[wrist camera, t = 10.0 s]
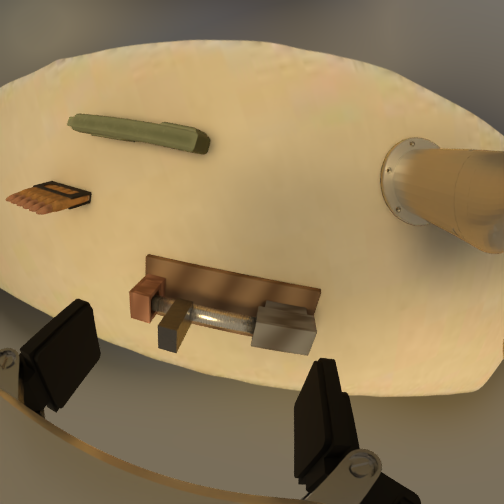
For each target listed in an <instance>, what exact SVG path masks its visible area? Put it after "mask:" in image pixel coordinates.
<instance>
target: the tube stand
mask: <svg viewBox="0 0 504 504" xmlns="http://www.w3.org/2000/svg"><path fill="white" fill-rule="evenodd" d="M155 294H156V295H160V296H163V297H167V298H171V299H175V300H176V298H181V299H185V300H189V301H193V304H196V305H200V306H205V307H209V308H214V309H218V310H223V311H228V312H232V313H237V314H242V315H247V316H252V317H257V320H256V325H255V330H254V334H249V333H244V332H239V331H234V330H229V329H225V328H220V327H216V326H211V325H207V324H203V323H198V322H194V321H192V324H196V325H200V326H205V327H209V328H213V329H218V330H222V331H227V332H232V333H237V334H241V335H246V336H252V342H251V346H253V347H258V348H263V349H269V350H275V351H281V352H287V353H294V354H301V355H309V352H310V349H311V347H312V344H313V342H314V339H315V336H316V334H317V330H316V325H315V319H314V313H315V310H316V307H317V304H318V301H319V297H320V294H321V290H320V289H317V288H312V287H306V286H301V285H295V284H290V283H285V282H280V281H274V280H269V279H264V278H259V277H254V276H249V275H244V274H239V273H234V272H229V271H224V270H219V269H215V268H210V267H205V266H200V265H196V264H191V263H186V262H182V261H177V260H172V259H168V258H163V257H159V256H154V255H150V254H148V255H147V256H146V276H145V277H144V278H143V279H142V280H141V281H140V282H139V283H138V284H137V285H135V286H134V287H133V288H132V289H131V290H130V291H129V295H130V313H131V318H134V319H137V320H140V321H144V322H147V323H150V322H151V321H152V319H153V318H154V317H155V315H156V314H158V315H161V316H165V314H163V313H159V312H156V311H152V310H151V298H152V297H153V296H154V295H155Z"/></svg>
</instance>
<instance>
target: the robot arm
mask: <svg viewBox="0 0 504 504" xmlns="http://www.w3.org/2000/svg"><path fill="white" fill-rule="evenodd" d="M410 143H411V145H410ZM387 169H388V172H387V171H386V170H387ZM381 188H382V192H383V197H384V199H385V201H386V204H387V205H388V207H389V208H390V210H391V211H392V212H393V213H394V214H395V215H396V216H397V217H398V218H399V219H401V220H402V221H404V222H406V223H408V224H411V225H417V226H422V225H428V224H430V223H432V224H434V225H436V226H438V227H440V228H442V229H444V230H446V231H447V232H449V233H451V234H453V235H455V236H456V237H458V238H460V239H462V240H464V241H465V242H467V243H469V244H471V245H472V246H474V247H476V248H477V249H479V250H481V251H483V252H486V253H491V254H499V253H503V252H504V151H489V150H472V149H441V148H439V147H438V146H437V145H436V144H435V143H433V142H431V141H430V140H427V139H424V138H408V139H405V140H402V141H401V142H399V143H397V144H396V145H395V146H394V147H393V148H392V149H391V150H390V151H389V153H388V154H387V156H386V158H385V160H384V162H383V166H382V170H381ZM396 207H397V210H396ZM20 351H21V353H20V354H18V352H17V351H16V350H14V349H12V348H4V349H1V350H0V504H421V501H420V498H419V497H418V495H417V494H415V493H414V492H413V491H411V490H409V489H407V488H406V487H404V486H403V485H401V484H399V483H398V482H396V481H395V480H393V479H391V478H390V477H388V476H386V475H385V474H384V473H382V472H381V470H382V463H381V460H380V458H379V457H378V456H377V455H376V454H375V453H374V452H372V451H370V450H367V449H360V448H359V443H358V438H357V433H356V428H355V422H354V417H353V413H352V408H351V403H350V398H349V395H348V394H347V392H342V390H341V385H340V381H339V376H338V371H337V367H336V362H335V360H334V359H326V358H320V359H319V360H318V361H314V362H313V365H312V367H311V369H310V372H309V374H308V376H307V378H306V381H305V383H304V385H303V387H302V389H301V392H300V394H299V396H298V398H297V400H296V402H295V406H294V476H295V478H299V484H306V490H307V491H308V493H307V494H306V495H305V496H304V497H302V498H301V499H300V500H299V499H287V498H278V497H267V496H258V495H250V494H243V493H237V492H231V491H225V490H219V489H214V488H210V487H205V486H201V485H196V484H192V483H189V482H185V481H181V480H178V479H174V478H171V477H167V476H164V475H161V474H158V473H155V472H152V471H149V470H146V469H144V468H141V467H138V466H135V465H133V464H130V463H128V462H126V461H123V460H121V459H118V458H116V457H114V456H112V455H109V454H107V453H105V452H103V451H101V450H99V449H96V448H94V447H93V446H91V445H89V444H87V443H85V442H83V441H81V440H79V439H77V438H76V437H74V436H72V435H70V434H68V433H67V432H65V431H63V430H62V429H60V428H58V427H57V426H55V425H54V424H52V423H50V422H49V421H47V420H46V419H45V413H44V408H45V406H46V405H47V407H48V408H50V409H51V410H53V411H55V412H57V411H58V409H59V408H63V407H64V405H65V404H66V403H67V401H68V400H69V398H70V397H71V396H72V394H73V393H74V392H75V390H76V389H77V388H78V386H79V385H80V384H81V382H82V381H83V380H84V378H85V377H86V376H87V374H88V373H89V372H90V370H91V369H92V368H93V367H94V365H95V364H96V363H97V361H98V360H99V358H100V354H101V353H100V348H99V343H98V338H97V333H96V327H95V321H94V315H93V309H92V307H91V306H90V304H89V303H88V302H86V301H83V300H81V299H76V300H75V301H73V302H72V303H71V304H70V305H69V306H67V307H66V308H65V309H64V310H63V311H61V312H60V313H59V314H58V315H57V316H56V317H54V318H53V319H52V320H51V321H50V322H49V323H48V324H46V325H45V326H44V327H43V328H42V329H41V330H40V331H39V332H38V333H36V334H35V335H34V336H33V337H32V338H31V339H30V340H29V341H28V342H27V343H26V344H25V345H23V346H22V347H21V348H20ZM503 358H504V341H503Z"/></svg>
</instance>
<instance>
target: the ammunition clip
mask: <svg viewBox="0 0 504 504" xmlns="http://www.w3.org/2000/svg"><path fill="white" fill-rule="evenodd" d="M90 199H91V192H88V191H85V190H81V189H78V188H74V187H71V186H67V185H64V184H60V183H57V182H53V181H50V182H46V183H42V184H38V185H34V186H33V187H32V188H28V189H25V190H22V191H21V192H18V193H15V194H12V195H10V196H9V197H7V198H6V201H10V202H11V203H13V204H17V206H23V208H24V209H29V211H32V212H36V211H37V212H36V214H47V213H51V212H57V211H61V210H64V209H67V208H68V209H73V208H76V207H79V206H82V205H85V204H89V203H90Z"/></svg>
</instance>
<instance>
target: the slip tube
mask: <svg viewBox="0 0 504 504" xmlns="http://www.w3.org/2000/svg"><path fill="white" fill-rule="evenodd" d="M151 310H152V311H156V312H159V313H163V314H165V316H164V317H163V319H162V320H161V322H160V323H159V325H158V348H160V349H163V350H167V351H170V352H174V353H177V351H178V349H179V347H180V345H181V343H182V341H183V339H184V337H185V335H186V333H187V331H188V329H189V327H190V325H191V323H192V321H194V322H198V323H203V324H207V325H211V326H216V327H220V328H225V329H229V330H234V331H239V332H244V333H249V334H254V330H255V325H256V320H257V317H252V316H247V315H242V314H237V313H232V312H228V311H223V310H218V309H214V308H209V307H205V306H200V305H196V304H193V301H189V300H185V299H181V298H176V300H175V299H171V298H167V297H163V296H160V295H156V294H155V295H154V296H153V297H152V298H151Z"/></svg>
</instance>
